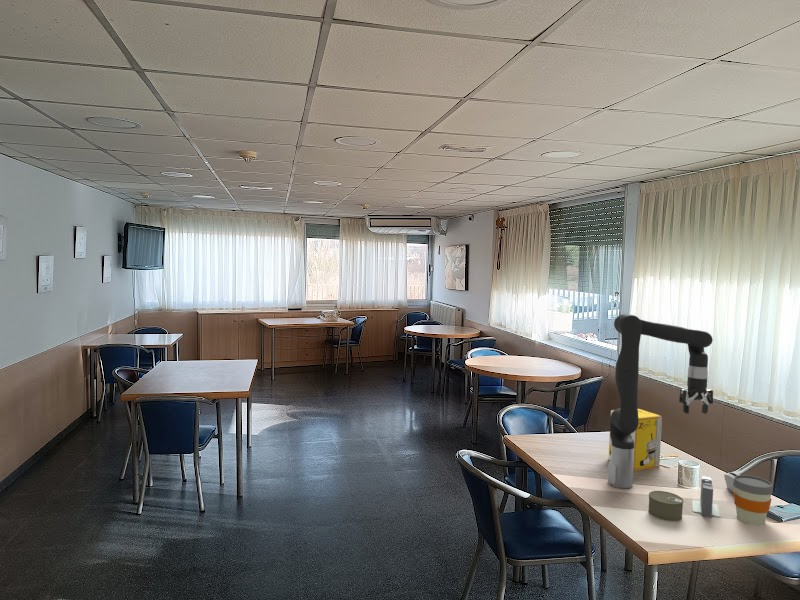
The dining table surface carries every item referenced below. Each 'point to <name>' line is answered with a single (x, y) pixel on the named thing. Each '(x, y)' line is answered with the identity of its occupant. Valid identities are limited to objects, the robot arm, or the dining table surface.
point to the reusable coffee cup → (752, 498)
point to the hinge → (730, 480)
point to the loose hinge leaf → (705, 480)
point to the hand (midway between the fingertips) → (695, 413)
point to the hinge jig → (706, 502)
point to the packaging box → (646, 441)
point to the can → (665, 505)
